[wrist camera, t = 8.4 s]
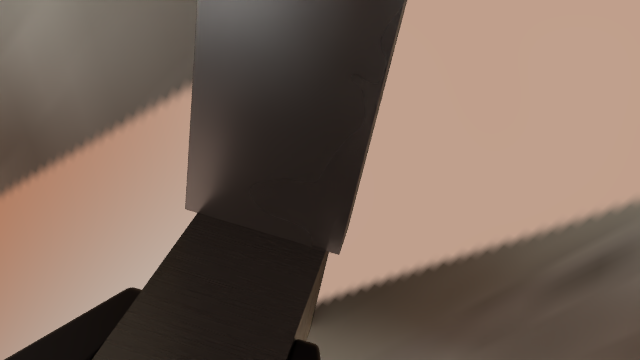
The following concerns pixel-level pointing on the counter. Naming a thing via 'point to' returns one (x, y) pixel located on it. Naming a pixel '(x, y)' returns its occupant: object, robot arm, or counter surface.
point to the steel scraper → (264, 176)
